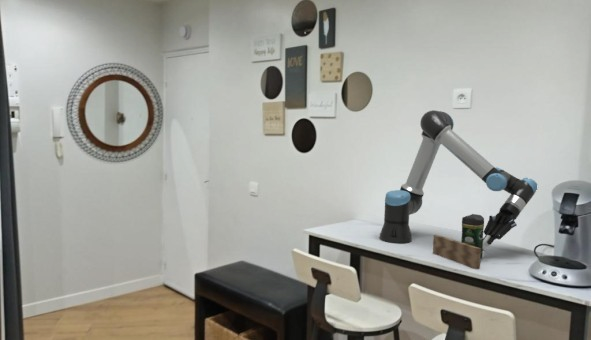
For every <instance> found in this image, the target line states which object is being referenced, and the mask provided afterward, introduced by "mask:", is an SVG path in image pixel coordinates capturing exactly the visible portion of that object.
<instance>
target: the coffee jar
mask: <svg viewBox="0 0 591 340" xmlns="http://www.w3.org/2000/svg"><path fill="white" fill-rule="evenodd" d="M484 227H485V217H483V216H482V215H481V214H474V213H472V214H469V215H465V216H463V217H462V218H461V239H460V242H462V243H465V244H468V245H472V246H475V247H478V248H481V256H480V260H481V259H483V255H484V254H483V252H484V251H483V238H484V230H485V228H484Z"/></svg>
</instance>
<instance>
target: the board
mask: <svg viewBox="0 0 591 340" xmlns="http://www.w3.org/2000/svg"><path fill="white" fill-rule="evenodd" d="M432 241H433V243H432V254H433V255H436V256H439V257H442V258H445V259H447V260H450V261H452V262H456V263H458V264H461V265H463V266H467V267H469V268H471V269H475V270H479V269H480V267H481V259H480V256H481V248H478V247H475V246H472V245H468V244H465V243H462V242H461V241H459V240H455V239H452V238H449V237H445V236H443V235H440V234H433V240H432Z"/></svg>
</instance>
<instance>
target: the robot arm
mask: <svg viewBox="0 0 591 340" xmlns="http://www.w3.org/2000/svg"><path fill="white" fill-rule="evenodd" d="M454 124H455V123H454V119H453V118H452V116H451V115H450V114H449V113H447V112H444V111H441V110H440V111H439V110H429V111H427V112H425V113H424V114H423V115H422V117H421V119H420V127H421V130H422V131H421V133H420V134H421V137H422V141H421V144H420V145H419V148H418V150H417V153H416V156H415V159H414V162H413V164H412V167H411V169H410V171H409V173H408V176H407V178H406V182H405V183H403V184H402V185H401V186H400V189H396V190H395V189H394V190H389V191H388V192H386V194H385V198H384V217H383V225H382V227H381V230H380V232H379V240H381V241H383V242H387V243H393V244H394V243H395V244H406V243H407V244H408V243H411V242H412V239H413V238H412V232H411V229H410V225H409V224H410V215H414V214H416V213H418V211H419V210H420V209H421V208H422V207H423V206H422V205H423V197H424V194H425V192H424V189H423V188H424V186H425V183H426V180H427V179H428V176H429V173H430V171H431V168H432V166H433V164H434V161H435V159H436V156H437V153H438V151H439V149H440V146H441V145H442V146H443V147H444V148H445V149H447V150H448V151H449V152H450V153H451V154H452V155H453V156H454V157H455V158H457V159H458V160H459V161H460V162H461V163H462V164H463V165H464V166H466V167H467V168H468V169H469V170H470V171H472V173H474V174H475V176H477V177H478V178H479V179H481V181H482V182H483V183H484V184H485V185H486V187H487V188H488V189H489V190H490V191H493V192H501V191H504V192H507V193H508V194H510V195H509V196H508V198H507V199H506V200H505V201H504V203H502V206H500V208H499V211H498V212H497V213H496V214H495V215H489V217H488V220H487V222H486V225H485V226H484V227H485V228H484V229H483V235H484V236H483V252H486V250H487V249H488V248H489V246H490V245H492V244H493V242H494V241H496V240H501V239H502V238H503V237H505V235H506V234H507V233H509V232H510V231H511V230H512V229H513V228H515V227H517V222H516V220H517V218H518V217H519V216H520V214H521V212H522V211H523V210H524V209H525V207H526V206H527V204H528V203H529V202H530V201H531V199H532V198H533V196H534V195H535V194H536V192H537V191H536V190H538V189H537V185H538V183H537V182H536V181H535V180H534V179H532V178H529V177H523V178H522V179H520V178H517V177H516V176H514V175H513V174H510V173H509V172H507V171H505V170H504V169H502V168H500V167H498V166H497V167H495V166H494V165H493V164H492V163H491V162H489V161H488V160H487V159H486V158H485V157H484V156H483V155H482V154H480V153H479V152H478V150H476V149H474V148H473V146H471V145H470V144H469V143H467V142H466V141H465V140H464V139H463V138H462V137H461V136H460V135H459V134H457V133H456V132H455V131H454V130H453V129H454ZM528 178H529V179H528Z"/></svg>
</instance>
